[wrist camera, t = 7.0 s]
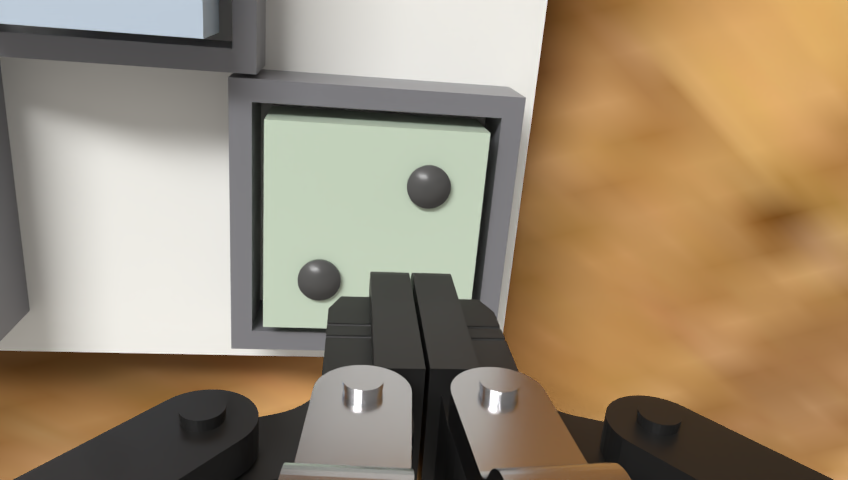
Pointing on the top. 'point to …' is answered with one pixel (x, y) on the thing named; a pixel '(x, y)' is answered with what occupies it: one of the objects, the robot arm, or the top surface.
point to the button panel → (223, 159)
